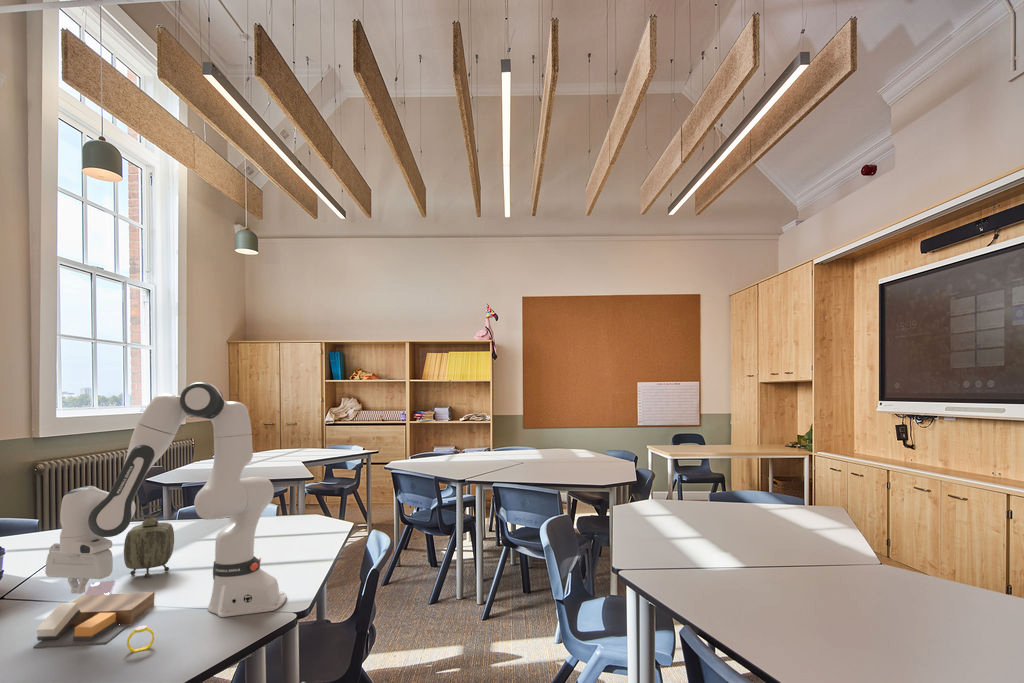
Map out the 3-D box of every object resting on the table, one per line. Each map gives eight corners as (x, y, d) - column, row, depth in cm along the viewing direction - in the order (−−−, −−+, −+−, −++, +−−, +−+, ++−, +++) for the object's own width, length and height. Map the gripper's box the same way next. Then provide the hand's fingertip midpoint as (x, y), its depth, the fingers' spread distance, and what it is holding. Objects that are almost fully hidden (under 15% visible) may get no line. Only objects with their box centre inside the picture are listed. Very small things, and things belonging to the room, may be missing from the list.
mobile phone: (82, 597, 187) (89, 582, 200) (82, 600, 187) (89, 585, 200) (110, 593, 191) (116, 579, 204) (110, 596, 191) (115, 582, 204)
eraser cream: (80, 612, 167) (78, 602, 166) (57, 640, 158) (54, 629, 157) (62, 612, 167) (59, 602, 166) (37, 640, 157) (34, 630, 156)
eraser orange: (116, 625, 167) (117, 612, 167) (91, 641, 157) (91, 627, 157) (99, 625, 167) (99, 612, 167) (73, 641, 157) (73, 627, 157)
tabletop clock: (173, 569, 216) (175, 501, 217) (168, 577, 207) (170, 506, 209) (128, 574, 211) (130, 504, 212) (121, 582, 202) (123, 510, 203)
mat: (128, 625, 168) (128, 624, 168) (106, 643, 156) (106, 642, 156) (61, 629, 165) (61, 627, 165) (33, 647, 154) (33, 646, 154)
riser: (154, 604, 183) (154, 591, 183) (130, 623, 169) (131, 609, 169) (81, 608, 180) (82, 595, 180) (52, 628, 166) (52, 613, 166)
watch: (127, 656, 150) (126, 633, 150) (127, 652, 152) (126, 629, 152) (154, 648, 153) (153, 626, 153) (154, 644, 156) (153, 622, 156)
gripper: (39, 546, 167) (38, 595, 166) (97, 548, 163) (96, 598, 162) (60, 540, 173) (59, 587, 172) (117, 541, 169) (116, 590, 168)
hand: (78, 592), depth 167 cm, fingers closed
